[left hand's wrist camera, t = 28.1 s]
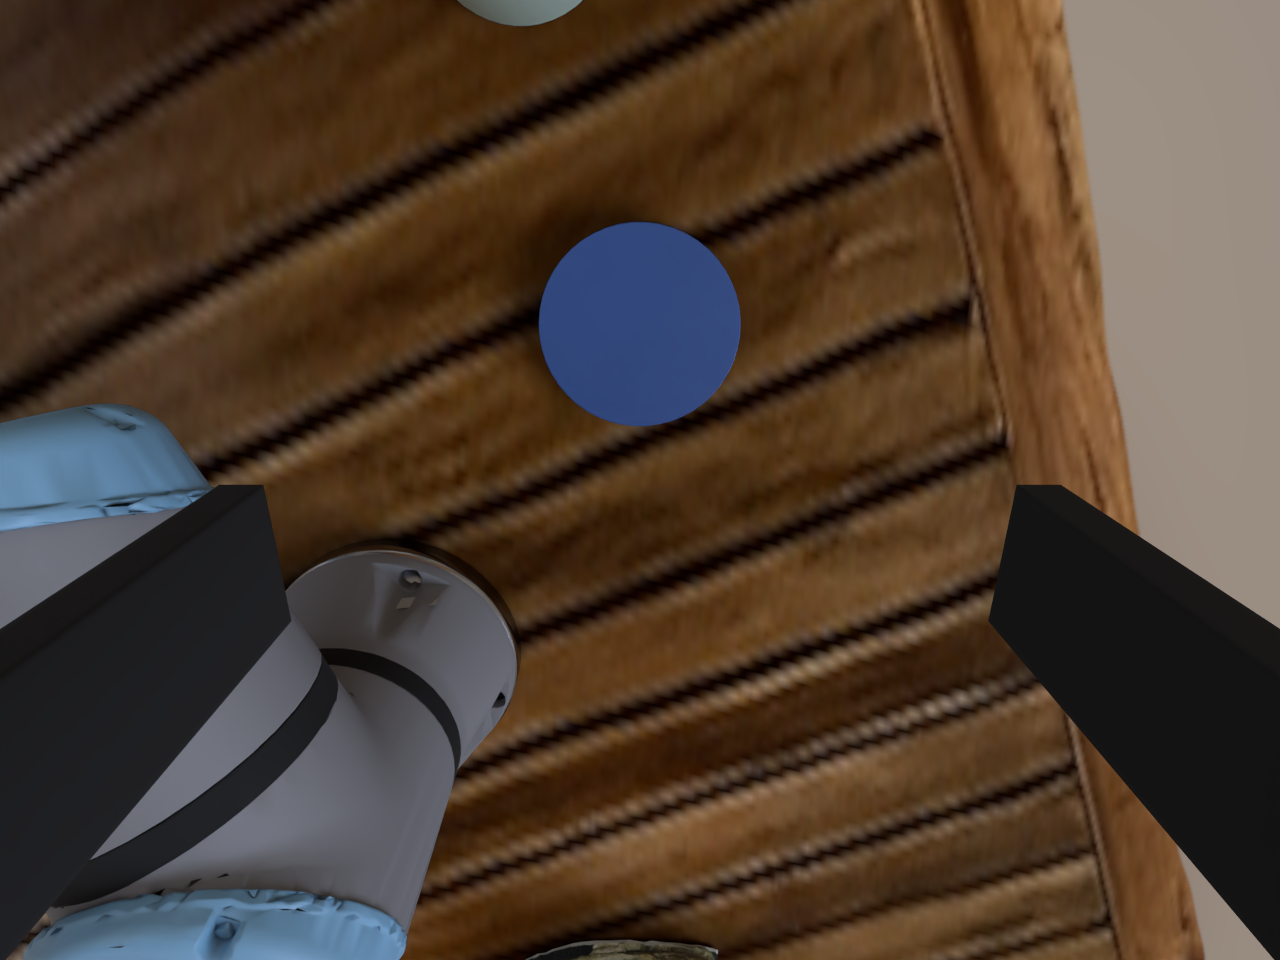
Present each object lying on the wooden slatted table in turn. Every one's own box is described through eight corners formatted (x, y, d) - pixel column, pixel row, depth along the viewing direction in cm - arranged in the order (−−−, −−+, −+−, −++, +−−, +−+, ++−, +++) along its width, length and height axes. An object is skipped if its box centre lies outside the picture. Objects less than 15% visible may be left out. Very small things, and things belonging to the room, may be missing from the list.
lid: (648, 175, 35) (648, 174, 33) (774, 331, 38) (781, 337, 36) (503, 315, 38) (496, 320, 36) (632, 451, 40) (631, 463, 39)
